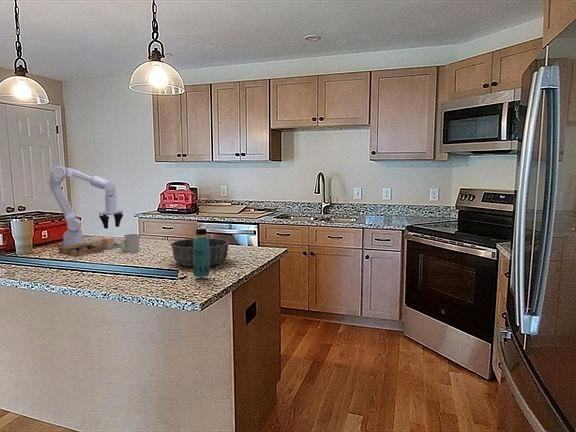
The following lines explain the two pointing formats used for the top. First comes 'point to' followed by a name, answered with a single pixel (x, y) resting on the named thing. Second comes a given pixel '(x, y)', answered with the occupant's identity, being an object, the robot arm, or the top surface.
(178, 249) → the bundt pan
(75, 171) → the robot arm
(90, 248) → the wooden pallet
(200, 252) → the beverage bottle
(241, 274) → the top surface
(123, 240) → the cup
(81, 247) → the flat stone
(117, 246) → the dump tray
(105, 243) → the stone block
